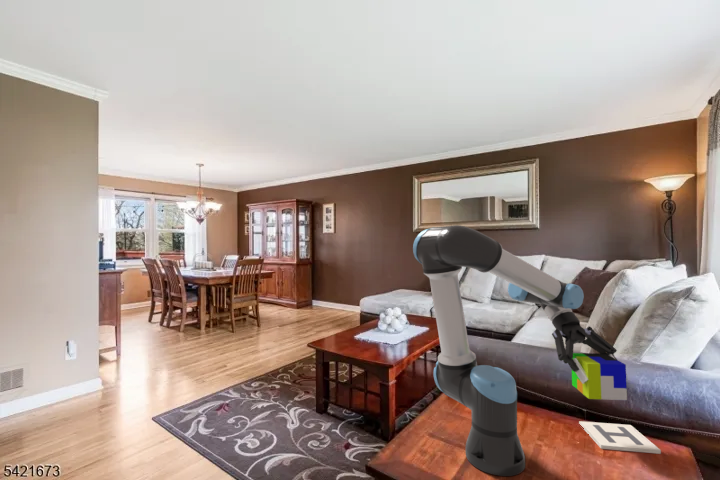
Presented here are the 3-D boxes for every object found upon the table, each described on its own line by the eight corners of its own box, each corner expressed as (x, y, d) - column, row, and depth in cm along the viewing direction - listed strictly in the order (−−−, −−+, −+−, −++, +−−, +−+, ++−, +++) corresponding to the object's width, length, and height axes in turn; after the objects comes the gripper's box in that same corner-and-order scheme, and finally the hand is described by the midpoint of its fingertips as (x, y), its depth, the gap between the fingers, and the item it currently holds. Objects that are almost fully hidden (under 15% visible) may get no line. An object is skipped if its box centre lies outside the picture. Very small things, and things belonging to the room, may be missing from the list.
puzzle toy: (627, 400, 97) (625, 364, 97) (588, 398, 98) (587, 363, 98) (606, 385, 107) (605, 353, 107) (572, 384, 108) (570, 352, 108)
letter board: (601, 448, 98) (601, 444, 98) (579, 424, 112) (579, 420, 112) (660, 453, 96) (660, 449, 96) (630, 428, 109) (630, 424, 109)
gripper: (586, 320, 121) (630, 380, 106) (525, 325, 116) (562, 389, 100) (598, 308, 116) (647, 368, 101) (535, 312, 111) (576, 377, 95)
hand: (604, 379), depth 100 cm, fingers closed on puzzle toy, 12 cm apart
